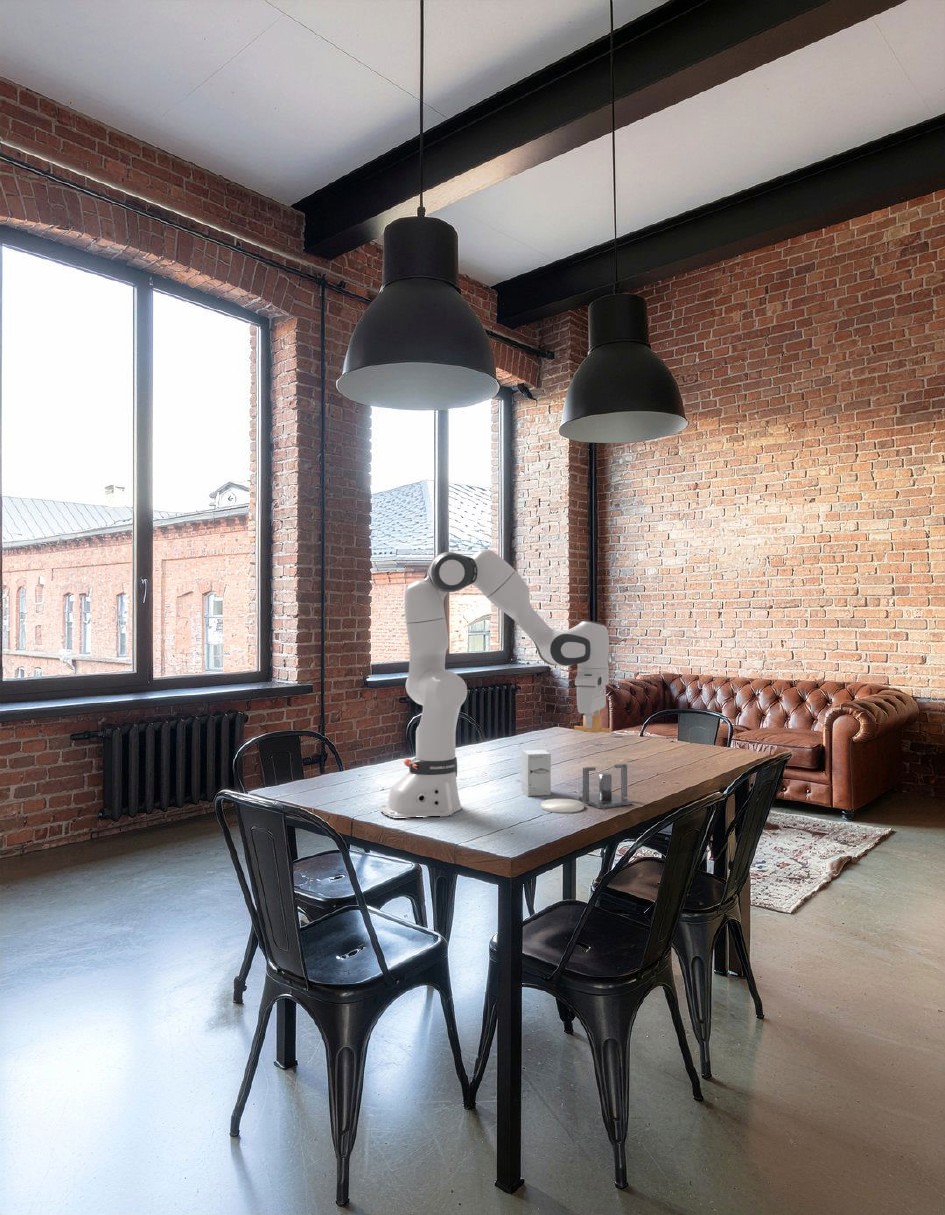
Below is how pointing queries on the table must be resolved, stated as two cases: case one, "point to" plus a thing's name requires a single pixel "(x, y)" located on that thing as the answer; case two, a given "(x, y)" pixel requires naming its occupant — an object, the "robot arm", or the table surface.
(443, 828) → the table surface
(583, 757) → the table surface
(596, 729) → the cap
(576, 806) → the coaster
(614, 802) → the grey display stand
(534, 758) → the supplement box
